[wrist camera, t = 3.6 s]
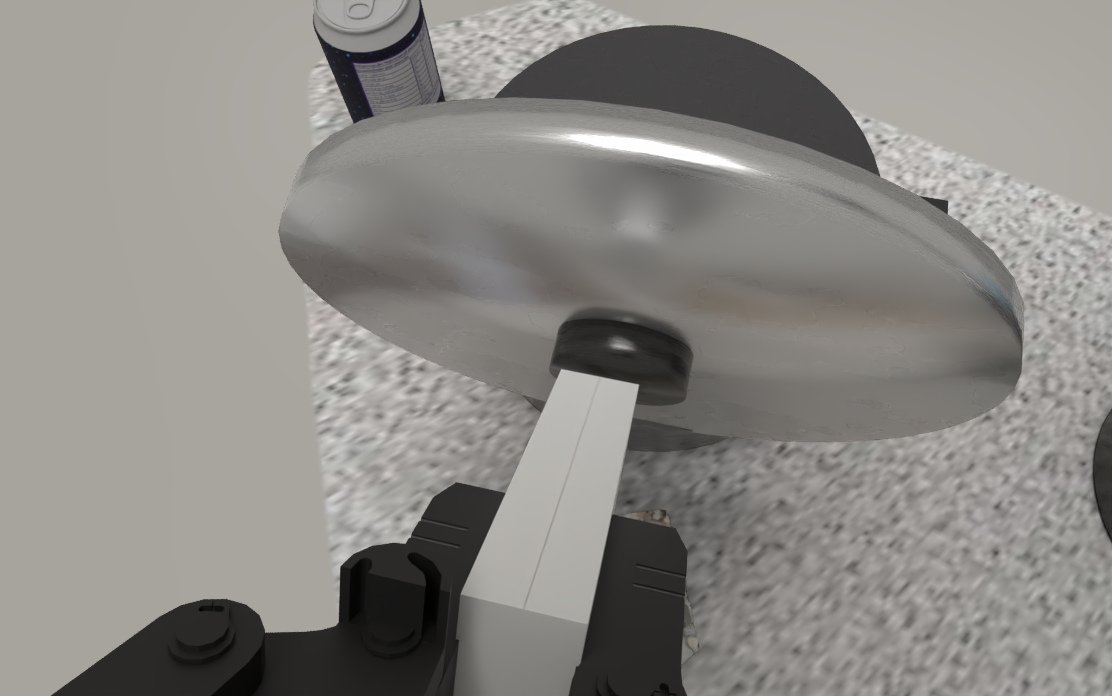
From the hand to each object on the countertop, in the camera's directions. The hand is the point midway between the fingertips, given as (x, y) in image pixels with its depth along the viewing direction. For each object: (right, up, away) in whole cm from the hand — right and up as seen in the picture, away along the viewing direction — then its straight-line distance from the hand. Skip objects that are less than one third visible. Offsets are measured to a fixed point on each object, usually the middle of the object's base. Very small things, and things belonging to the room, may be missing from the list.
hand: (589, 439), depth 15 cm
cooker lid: (+2, +3, +8) cm, 9 cm away
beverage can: (-10, +15, +36) cm, 40 cm away
